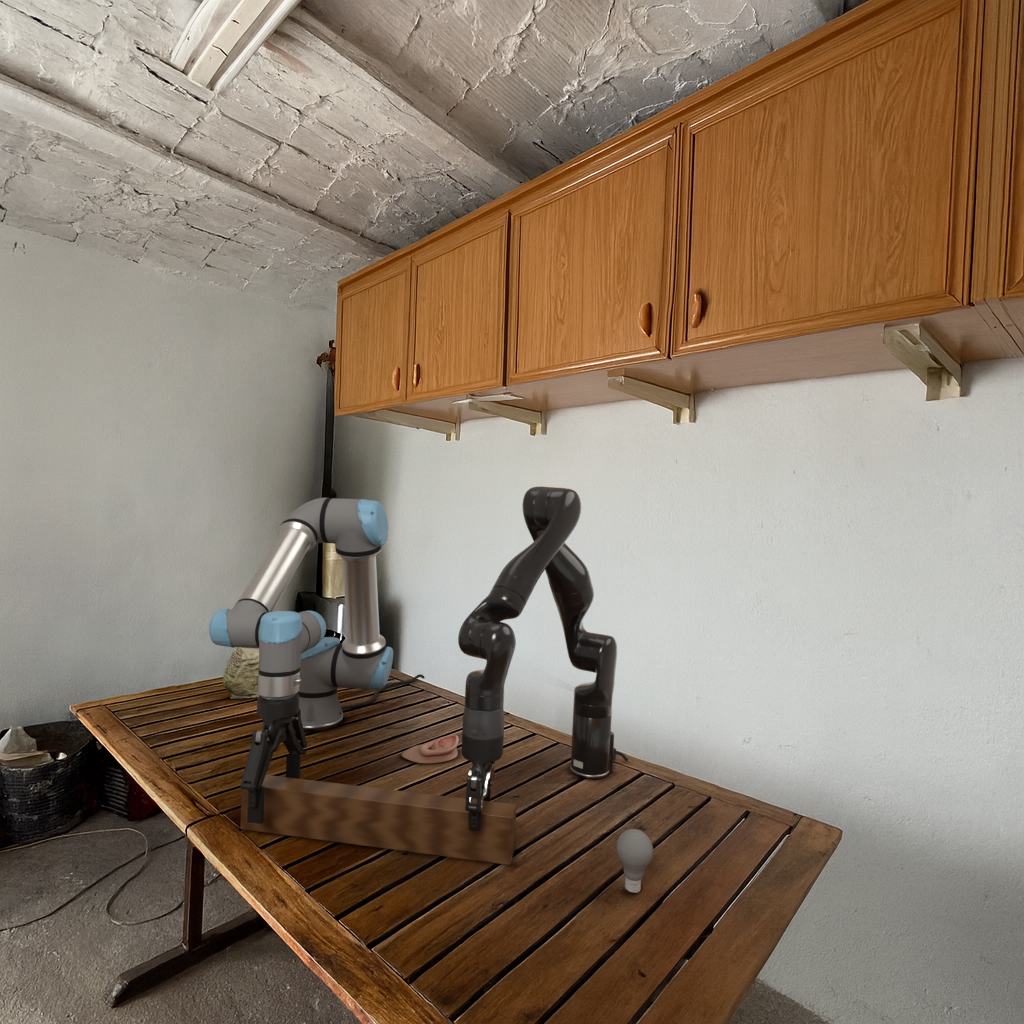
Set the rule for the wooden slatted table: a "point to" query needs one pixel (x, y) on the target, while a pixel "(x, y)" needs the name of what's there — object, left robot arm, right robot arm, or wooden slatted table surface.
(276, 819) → the beam
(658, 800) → the wooden slatted table surface
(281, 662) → the left robot arm
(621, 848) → the light bulb
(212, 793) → the wooden slatted table surface
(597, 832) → the wooden slatted table surface
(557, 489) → the right robot arm
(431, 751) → the anatomical model
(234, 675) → the fossil
